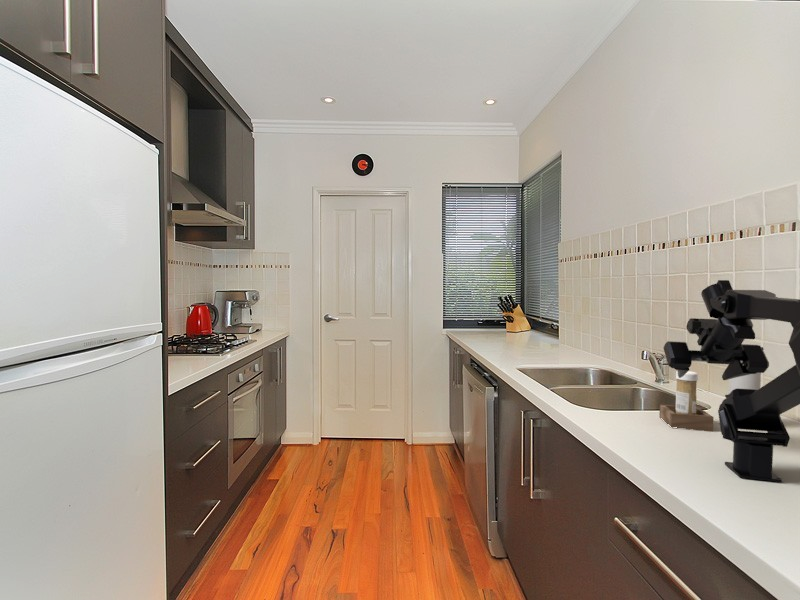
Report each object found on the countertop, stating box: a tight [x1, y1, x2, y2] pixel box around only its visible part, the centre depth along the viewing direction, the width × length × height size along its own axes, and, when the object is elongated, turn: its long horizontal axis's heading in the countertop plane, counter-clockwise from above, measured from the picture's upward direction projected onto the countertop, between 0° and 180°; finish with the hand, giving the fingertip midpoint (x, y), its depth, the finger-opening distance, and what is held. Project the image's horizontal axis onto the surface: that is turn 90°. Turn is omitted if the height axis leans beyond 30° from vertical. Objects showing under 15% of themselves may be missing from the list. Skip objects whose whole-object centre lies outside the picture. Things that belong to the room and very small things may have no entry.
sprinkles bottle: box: [675, 370, 699, 415], centre depth 109 cm, size 5×5×13 cm
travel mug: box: [728, 346, 764, 394], centre depth 111 cm, size 6×7×20 cm
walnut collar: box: [659, 404, 714, 432], centre depth 110 cm, size 9×9×4 cm
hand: (701, 377), depth 102 cm, fingers open, 9 cm apart
